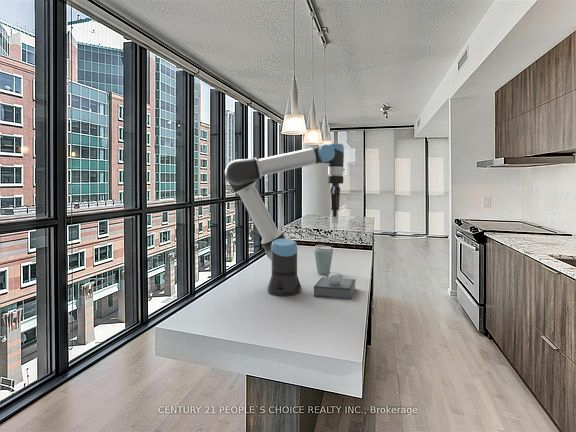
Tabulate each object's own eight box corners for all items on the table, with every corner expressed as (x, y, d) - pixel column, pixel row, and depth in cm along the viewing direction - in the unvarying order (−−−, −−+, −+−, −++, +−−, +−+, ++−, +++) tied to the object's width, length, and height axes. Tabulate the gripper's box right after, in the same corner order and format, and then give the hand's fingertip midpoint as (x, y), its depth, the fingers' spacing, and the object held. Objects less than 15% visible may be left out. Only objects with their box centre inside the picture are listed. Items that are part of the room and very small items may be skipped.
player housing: (350, 299, 166) (350, 278, 165) (313, 296, 170) (314, 276, 170) (355, 289, 181) (355, 270, 180) (321, 286, 186) (321, 268, 185)
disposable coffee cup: (333, 271, 218) (333, 244, 217) (333, 275, 207) (333, 248, 206) (314, 270, 219) (314, 244, 218) (313, 275, 208) (313, 247, 207)
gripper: (341, 175, 185) (340, 224, 187) (345, 175, 197) (344, 222, 199) (325, 175, 187) (325, 224, 189) (330, 175, 200) (330, 221, 202)
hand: (335, 223), depth 194 cm, fingers closed
